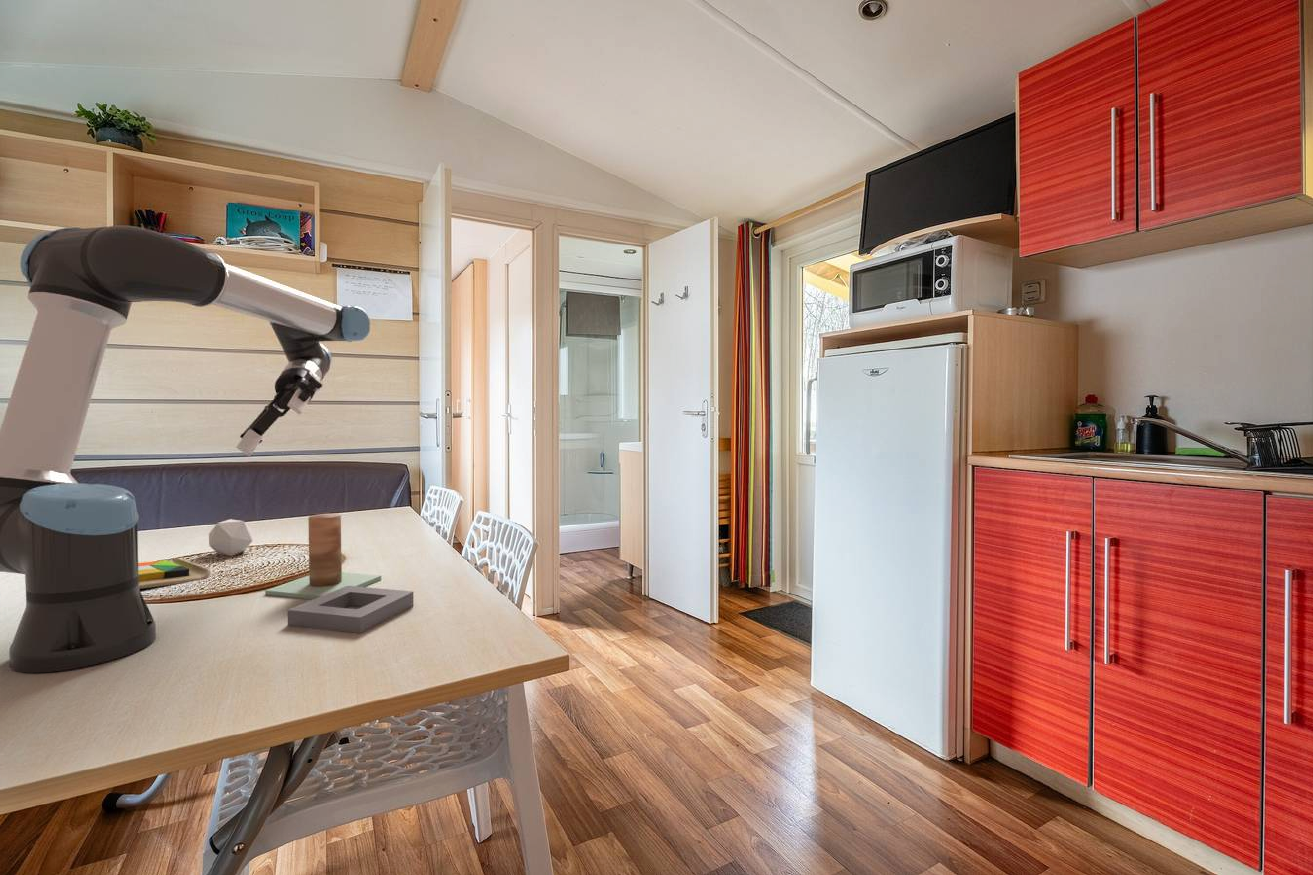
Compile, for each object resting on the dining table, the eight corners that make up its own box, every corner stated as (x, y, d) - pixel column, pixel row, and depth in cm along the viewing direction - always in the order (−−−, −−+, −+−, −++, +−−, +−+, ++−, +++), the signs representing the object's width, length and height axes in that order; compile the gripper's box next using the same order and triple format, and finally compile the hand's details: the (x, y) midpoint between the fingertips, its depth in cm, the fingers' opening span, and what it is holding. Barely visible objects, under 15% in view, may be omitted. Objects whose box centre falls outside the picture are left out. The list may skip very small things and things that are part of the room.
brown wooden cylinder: (327, 587, 114) (326, 520, 113) (302, 585, 115) (301, 518, 114) (348, 579, 119) (347, 514, 118) (323, 577, 120) (322, 512, 119)
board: (330, 601, 109) (330, 596, 109) (265, 594, 112) (265, 590, 112) (381, 579, 122) (381, 575, 122) (322, 574, 125) (322, 570, 125)
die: (261, 554, 143) (259, 518, 147) (236, 544, 135) (234, 506, 140) (227, 567, 142) (225, 531, 147) (199, 557, 135) (199, 519, 139)
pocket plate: (360, 633, 94) (360, 617, 94) (287, 625, 97) (287, 609, 97) (413, 605, 107) (413, 591, 107) (347, 599, 110) (347, 585, 110)
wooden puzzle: (213, 579, 123) (213, 562, 122) (90, 604, 107) (89, 584, 107) (178, 566, 132) (177, 550, 132) (60, 587, 116) (59, 569, 116)
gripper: (354, 360, 133) (333, 404, 115) (273, 427, 136) (241, 479, 119) (325, 335, 129) (298, 377, 111) (243, 405, 132) (204, 455, 115)
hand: (269, 430), depth 115 cm, fingers open, 13 cm apart
